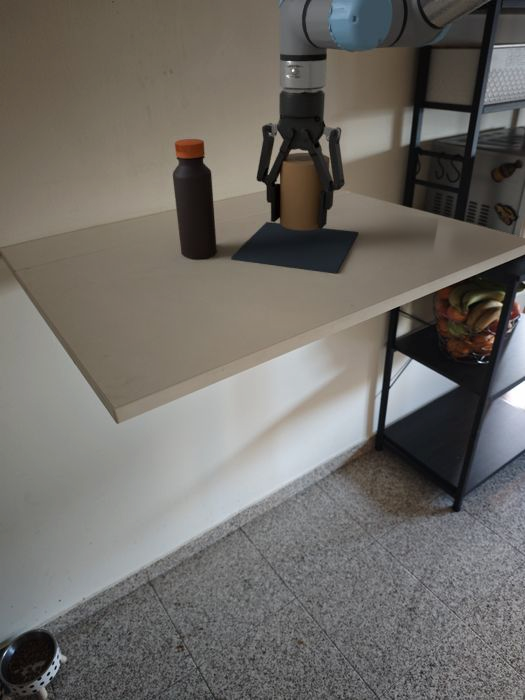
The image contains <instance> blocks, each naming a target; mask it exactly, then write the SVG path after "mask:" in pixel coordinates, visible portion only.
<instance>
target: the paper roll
mask: <svg viewBox="0 0 525 700" xmlns="http://www.w3.org/2000/svg"><path fill="white" fill-rule="evenodd" d="M323 156H324V159H325V161H326V164H327V166H328V169H329V170H330V163H331V160H330V156H328V155H325V154H323ZM279 184H280V218H279V223H280V224H281V225H282V226H283V227H285V228H288V229H292V230H299V231H307V230H315V229H319V228H318V221H319V201H320V192H321V191H322V190H324V188H323V186H322V183H321V181H320V178H319V175H318V173H317V170H316V168H315V165H314V163H313V160H312V157H311V156H310V155H309V153H308V152H293V153H289V155H288V157H287V159H285V160H284V161H282V164H281V168H280V174H279Z"/></svg>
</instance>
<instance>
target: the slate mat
mask: <svg viewBox="0 0 525 700" xmlns="http://www.w3.org/2000/svg"><path fill="white" fill-rule="evenodd" d="M358 236H359V231H353V230H345V229H335V228H326V227H323V228H319V229H315V230H307V231H299V230H292V229H288V228H285V227H283V226H282V225H281V224H280V222H271V221H266V222H265V223H264V224H263V225H262V226H261V227H260V228H258V230H256V232H254V234H253V235H252V236H250V238H249V239H247V241H245V242H244V243H243V245H241V246H240V247H239V249H238V250H237V251H235V252H234V253H233V254H232V255H231V257H230V260H233V261H240V262H247V263H256V264H263V265H270V266H278V267H285V268H290V269H291V268H292V269H298V270H299V269H300V270H308V271H315V272H321V273H329V274H336V275H337V274H338V273H339V271H340V269H341V267H342V265H343V263H344V261H345V260H346V258H347V256H348V254H349V252H350V250H351V249H352V246H353V245H354V243H355V241H356V239H357V238H358Z"/></svg>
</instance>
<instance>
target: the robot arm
mask: <svg viewBox="0 0 525 700" xmlns="http://www.w3.org/2000/svg"><path fill="white" fill-rule="evenodd" d="M490 1H491V0H279V3H278V10H279V87H280V88H281V89H282V90H281V91H280V92H279V95H278V96H279V97H278V98H279V100H278V101H279V104H278V105H279V107H278V108H279V110H278V111H279V112H278V114H279V120H278V122H277V123H273V122H269V123H266V124H264V125H262V127H261V132H262V145H261V151H260V155H259V160H258V161H259V162H258V166H257V173H256V182H259V183H263V184H264V185H265V186H266V187H265V189H266V203H269V204H270V222H272V223H276V221H278V220H280V183H276V182H278V178H279V177H280V168H281V164H282V161H284V160H285V159H287V157H288V155H289V154H291V151H294V150H300V151H302V152H303V151H305V152H307V153H309V155H310V156H311V157H312V160H313V163H314V165H315V168H316V170H317V173H318V175H319V178H320V181H321V183H322V186H323V188H324V190H322V191H321V192H320V201H319V221H318V228H325V226H326V225H327V223H328V222H327V221H328V211H330V210H331V209H332V207H333V206H334V205H333V204H334V192H335V191H340V190H341V189H342V188H343V187H344V186H345V183H346V182H345V175H344V166H343V159H342V153H341V145H340V143H341V142H340V141H341V136H342V128H341V127H339V126H337V127H335V128H334V127H330V126H326V123H325V120H324V116H325V98H326V93H325V91H324V90H322V89H323V88H325V86H326V82H327V81H326V80H327V77H326V76H327V59H328V53H327V52H328V50H339V51H346V52H348V53H354V52H366V51H367V52H368V51H371V50H374V49H386V48H387V49H388V48H391V49H392V48H423V47H425V46H428V45H429V46H430V45H434V44H437V43H438V42H440V41H441V40H443V38H445V36H446V35H447V33H448V31H449V30H450V29H451V27H452V24H453V23H455V22H457V21H459V20H460V19H462V18H464V17H465V16H467V15H469V14H470V13H472V12H473V11H475V10H477V9H479V8H480V7H482V6H483V5H485V4H487V3H489V2H490ZM277 133H279V135H280V137H281V138H282V143H281V144H280V147H279V149H278V150H279V151H278V153H277V155H276V157H275V159H274V162H273V164H272V166H271V169H270V165H271V160H272V155H273V150H274V144H275V139H276V138H275V137H276V136H277V135H278V134H277ZM323 135H324V136H325V140H326V141H327V142H328V152H329V158H330V168H331V171H330V168H329V169H328V166H327V164H326V161H325V159H324V156H323V155H324V153H323V149H322V148H323V147H322V145H321V142H320V139H321V138H322V136H323ZM269 170H270V171H269ZM331 172H332V174H331Z"/></svg>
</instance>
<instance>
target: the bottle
mask: <svg viewBox="0 0 525 700" xmlns="http://www.w3.org/2000/svg"><path fill="white" fill-rule="evenodd" d="M174 150H175V157H176V160H177V161H178V165H176V167H175V169H174V170H173V171H172V180H173V181H172V182H173V190H174V199H175V200H174V201H175V208H176V210H175V211H176V216H177V217H176V218H177V226H178V227H177V228H178V236H179V245H180V253H181V255H182V256H183V257H185V258H187V259H191V260H204V259H209V258H211V257H213V256H214V255H216V253H217V251H218V249H217V236H216V222H215V221H216V220H215V205H214V192H213V191H214V189H213V178H212V177H213V176H212V170H211V169H210V168H209V166H207V165H206V164H205V163H204V159H205V155H206V154H205V141H204V140H203V139H198V138H185V139H184V138H183V139H179V140H176V141H175V142H174Z"/></svg>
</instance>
